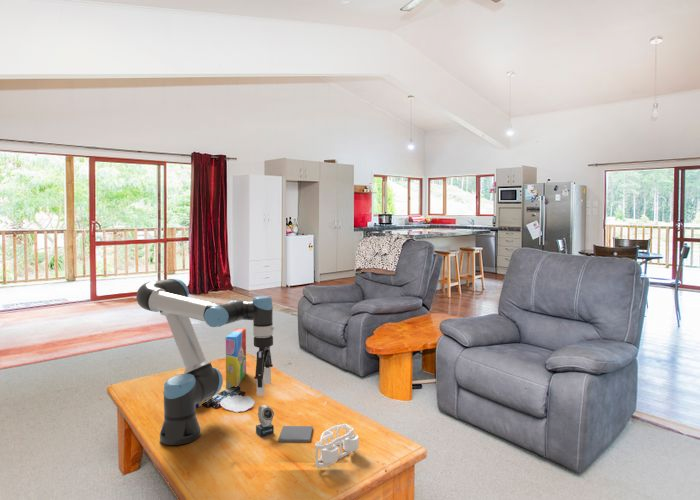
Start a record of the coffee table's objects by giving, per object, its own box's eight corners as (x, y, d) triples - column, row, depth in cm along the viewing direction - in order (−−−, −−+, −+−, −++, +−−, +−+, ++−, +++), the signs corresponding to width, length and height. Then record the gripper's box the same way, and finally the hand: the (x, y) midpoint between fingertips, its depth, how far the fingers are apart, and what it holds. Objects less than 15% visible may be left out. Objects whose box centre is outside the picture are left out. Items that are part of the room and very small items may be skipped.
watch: (263, 438, 177) (262, 410, 177) (254, 431, 183) (253, 404, 183) (276, 435, 180) (275, 407, 180) (266, 428, 187) (266, 401, 186)
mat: (278, 441, 174) (278, 439, 174) (283, 428, 186) (283, 426, 186) (309, 442, 174) (309, 439, 174) (312, 428, 186) (312, 426, 186)
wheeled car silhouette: (327, 471, 153) (326, 450, 153) (304, 461, 160) (303, 440, 160) (364, 450, 168) (364, 430, 168) (342, 441, 175) (342, 422, 175)
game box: (236, 390, 231) (235, 337, 230) (225, 390, 231) (225, 337, 230) (246, 377, 252) (245, 328, 251) (236, 377, 252) (235, 328, 251)
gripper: (266, 343, 168) (267, 400, 169) (278, 329, 193) (279, 379, 194) (246, 343, 169) (247, 400, 169) (260, 329, 193) (261, 379, 194)
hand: (264, 389), depth 182 cm, fingers open, 13 cm apart
